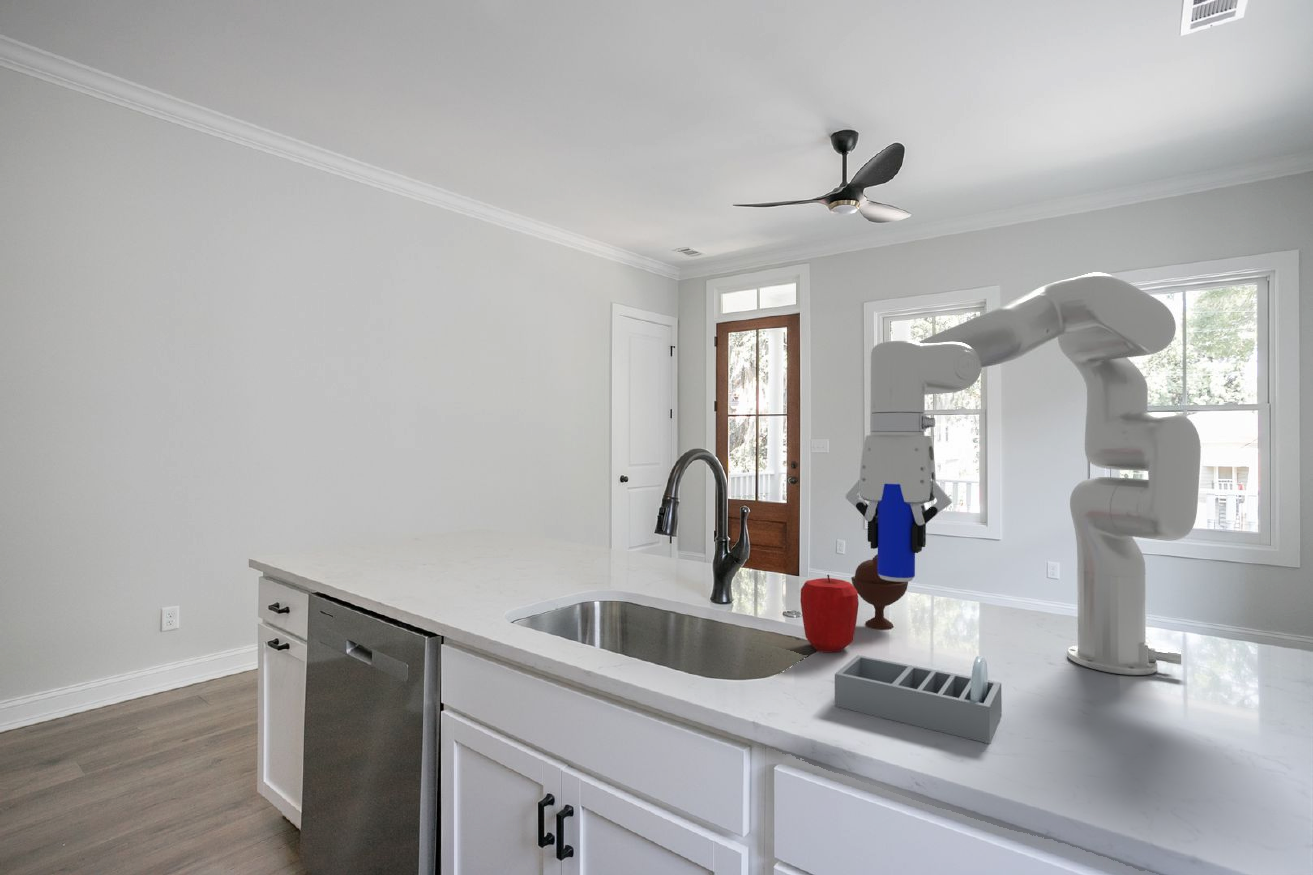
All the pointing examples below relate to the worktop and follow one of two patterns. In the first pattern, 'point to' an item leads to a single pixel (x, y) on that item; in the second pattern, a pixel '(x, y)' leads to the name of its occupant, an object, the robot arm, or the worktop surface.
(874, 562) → the ice cream bowl
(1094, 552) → the robot arm
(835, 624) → the apple
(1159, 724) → the worktop surface
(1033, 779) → the worktop surface
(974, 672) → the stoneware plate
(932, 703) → the dish rack
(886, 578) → the beverage can
